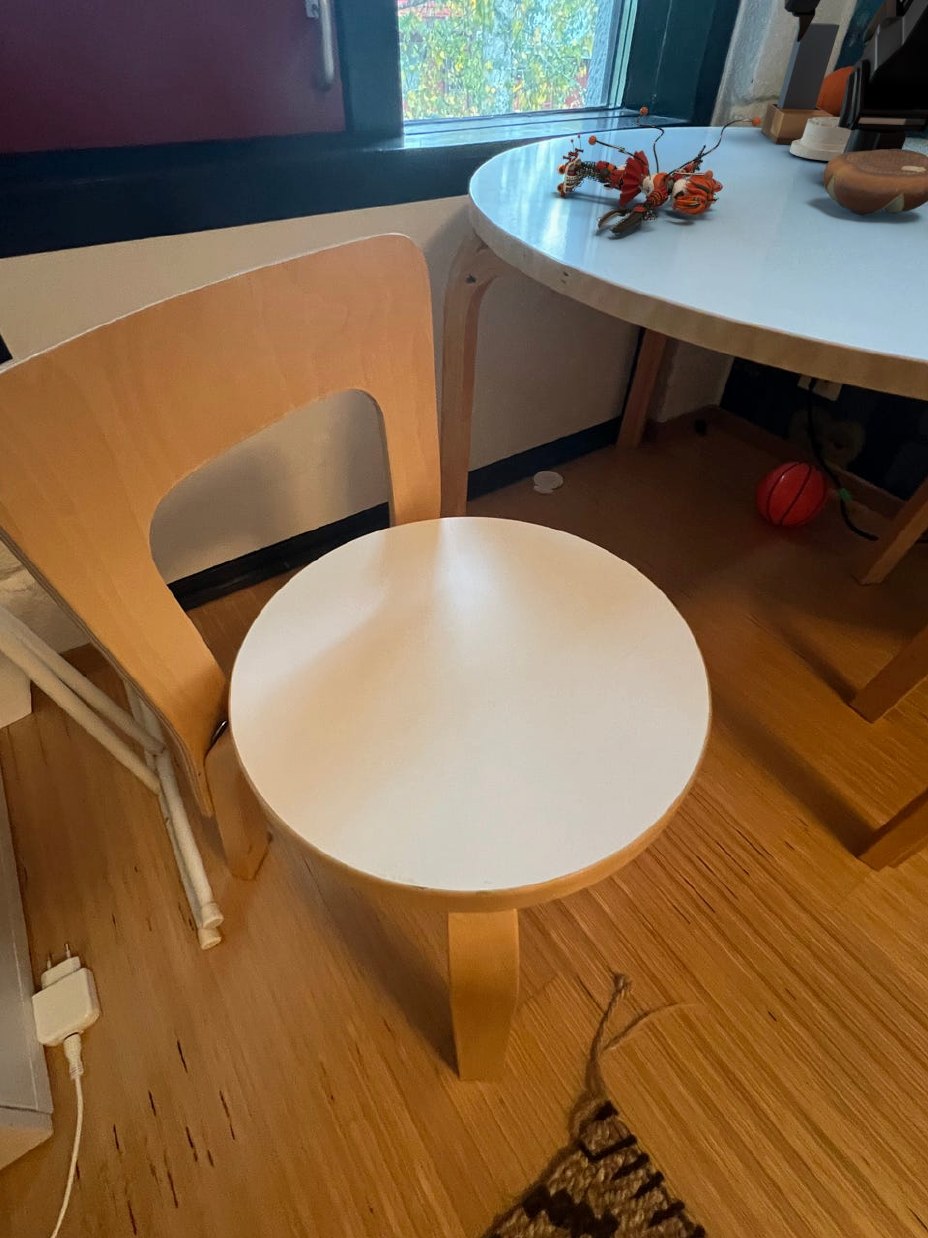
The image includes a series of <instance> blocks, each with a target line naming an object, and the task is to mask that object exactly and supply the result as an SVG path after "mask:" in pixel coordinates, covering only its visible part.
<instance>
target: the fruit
mask: <svg viewBox="0 0 928 1238" xmlns="http://www.w3.org/2000/svg"><path fill="white" fill-rule="evenodd" d="M853 67H854V65H851V66H850V65H848V66H847V67H841V68H839V69H837V70H834V71H833V72H831V73H829V74H827V75H825V76H824V80H823V83H822V86H821V90H820V93H819V96H818V100H817V103H816V106H817V107H819V108H821V109H822V110H824V111H826V112H828V113H829V114H831V115H833V117H840V112H841V107H842V103H843V98H844V94H845V89H846V81H847V77H848V76H849V75H850V73H851V71H852V69H853Z"/></svg>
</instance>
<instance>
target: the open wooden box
mask: <svg viewBox="0 0 928 1238" xmlns="http://www.w3.org/2000/svg"><path fill="white" fill-rule="evenodd" d="M777 104H778V103H772V102H771V103H768V104H767V108H766V111H765V115H764V119H763V123H762V127H761V131H760V132H761V133H762V134H763V135H765V136H766V137H767V139H769V140H771V141H772V142H773V143H774V144H775V145H791V144H792V141H795V140H799V139H801V138H802V137H803V134H804V131H805V128H806V125H807V121H808V119H812V117H833V115H831V114H829V113H828V112H826V111H824V110H822V109H821V108H819V107H817V106H815V110H797V109H778V108H777Z"/></svg>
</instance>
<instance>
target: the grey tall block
mask: <svg viewBox="0 0 928 1238" xmlns="http://www.w3.org/2000/svg"><path fill="white" fill-rule="evenodd" d="M840 26H841V25H840V24H837V23H828V22H827V23H826V22H811V24H810V25H809V27H808V29H807V31H806V33H805V35H804V36H803V38H802V39H801V40H800V42H796V38H797V32H796V33H795V38H794V41H793V43H792V47H791V52H790V56H789V59H788V62H787V67H786V70H785V74H784V77H783V82H782V85H781V89H780V93H779V97H778V100H777V103H776V104H777V108H778V109H797V110H815V106H816V103H817V100H818V96H819V93H820V90H821V86H822V83H823V80H824V78H825V77H826V73H827V70H828V66H829V63H830V59H831V56H832V53H833V49H834V46H835V42H836V39H837V36H838V33H839V29H840Z"/></svg>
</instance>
